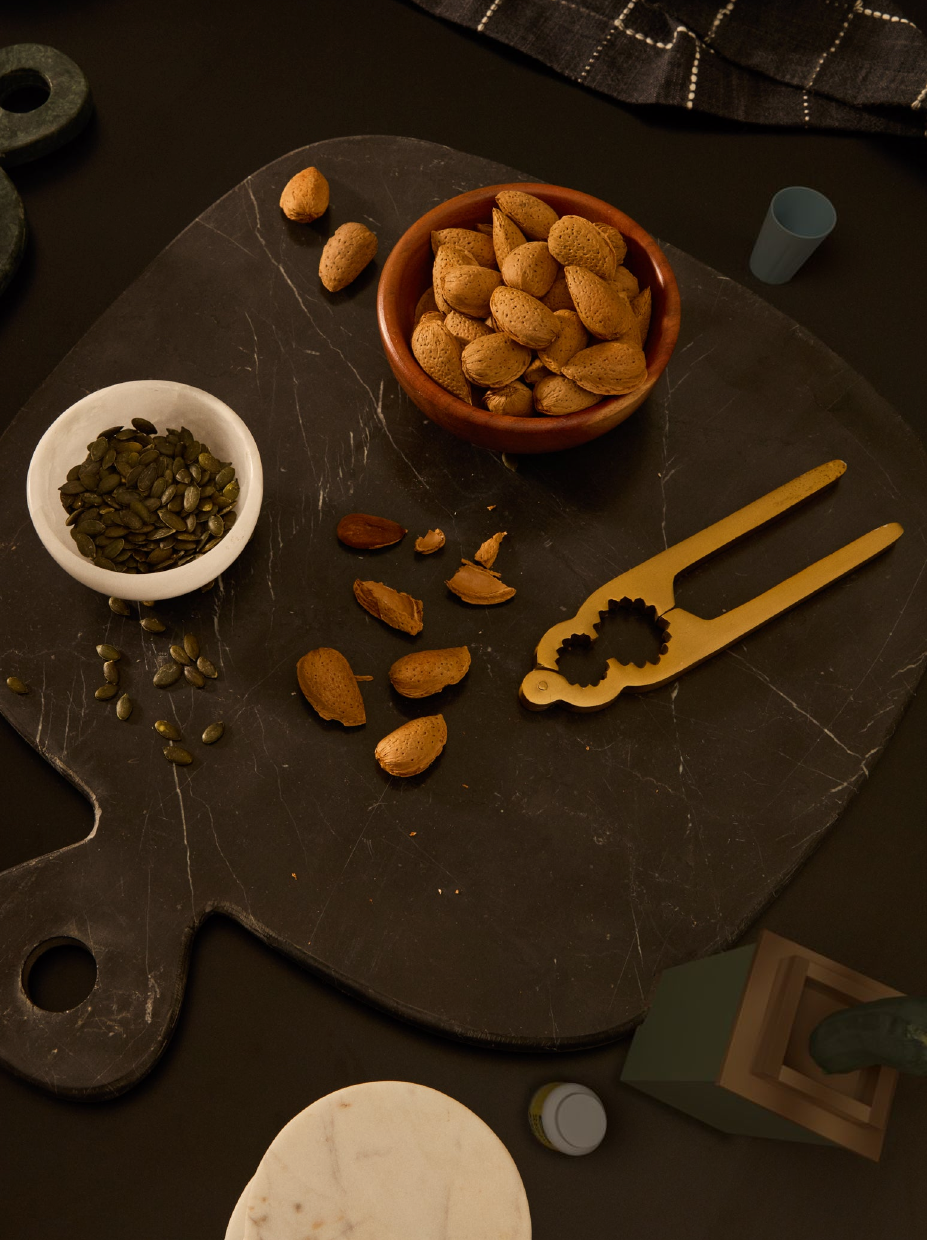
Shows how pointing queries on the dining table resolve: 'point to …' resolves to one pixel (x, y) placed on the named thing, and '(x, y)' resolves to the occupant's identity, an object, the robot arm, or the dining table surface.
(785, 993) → the socket pad
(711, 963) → the stand
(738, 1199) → the dining table surface
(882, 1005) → the vegetable
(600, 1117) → the supplement bottle
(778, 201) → the cup
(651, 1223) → the dining table surface
